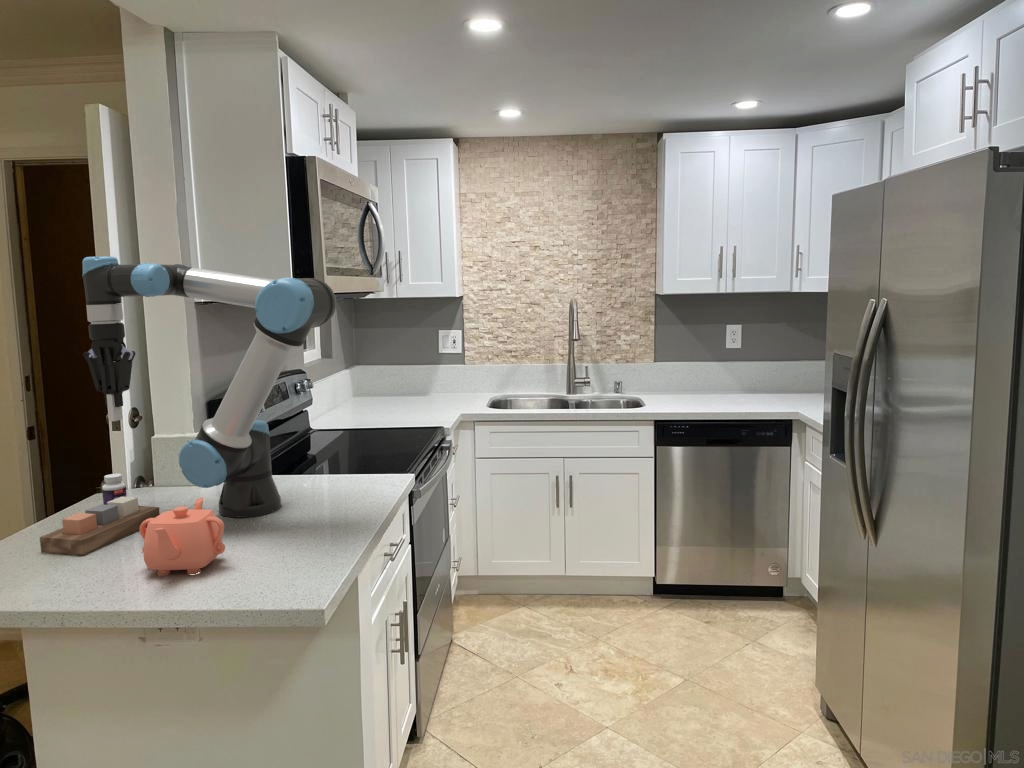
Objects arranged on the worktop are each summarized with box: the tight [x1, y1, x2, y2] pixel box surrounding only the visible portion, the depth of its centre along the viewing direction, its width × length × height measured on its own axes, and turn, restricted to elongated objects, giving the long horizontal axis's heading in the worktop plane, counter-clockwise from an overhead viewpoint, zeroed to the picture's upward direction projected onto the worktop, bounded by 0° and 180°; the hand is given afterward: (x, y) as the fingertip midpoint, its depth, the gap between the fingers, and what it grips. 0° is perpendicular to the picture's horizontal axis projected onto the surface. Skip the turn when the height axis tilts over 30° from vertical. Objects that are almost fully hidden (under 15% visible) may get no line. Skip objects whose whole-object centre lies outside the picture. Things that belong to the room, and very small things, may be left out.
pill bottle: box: [101, 473, 128, 505], centre depth 193 cm, size 5×5×10 cm
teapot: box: [139, 497, 226, 577], centre depth 154 cm, size 15×17×13 cm
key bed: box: [39, 505, 161, 557], centre depth 175 cm, size 11×24×4 cm, turn 166°
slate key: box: [84, 504, 119, 526], centre depth 175 cm, size 5×5×5 cm
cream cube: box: [107, 496, 139, 517], centre depth 181 cm, size 5×5×5 cm
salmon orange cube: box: [61, 512, 97, 535], centre depth 168 cm, size 5×5×5 cm
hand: (115, 420), depth 182 cm, fingers closed
